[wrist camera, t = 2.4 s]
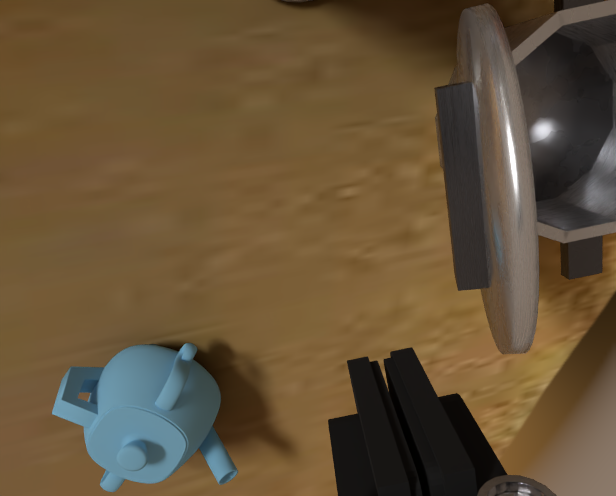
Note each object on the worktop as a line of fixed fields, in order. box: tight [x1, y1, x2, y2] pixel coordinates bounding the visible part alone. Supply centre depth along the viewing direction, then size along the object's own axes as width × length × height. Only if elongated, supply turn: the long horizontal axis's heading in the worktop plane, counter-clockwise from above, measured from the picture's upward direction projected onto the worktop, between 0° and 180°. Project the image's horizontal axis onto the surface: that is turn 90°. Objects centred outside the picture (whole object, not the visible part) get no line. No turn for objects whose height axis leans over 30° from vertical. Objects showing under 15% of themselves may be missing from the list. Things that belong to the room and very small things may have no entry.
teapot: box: [52, 343, 238, 492], centre depth 47 cm, size 20×17×12 cm
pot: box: [435, 0, 616, 280], centre depth 40 cm, size 26×20×10 cm
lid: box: [435, 3, 539, 354], centre depth 27 cm, size 19×19×3 cm
